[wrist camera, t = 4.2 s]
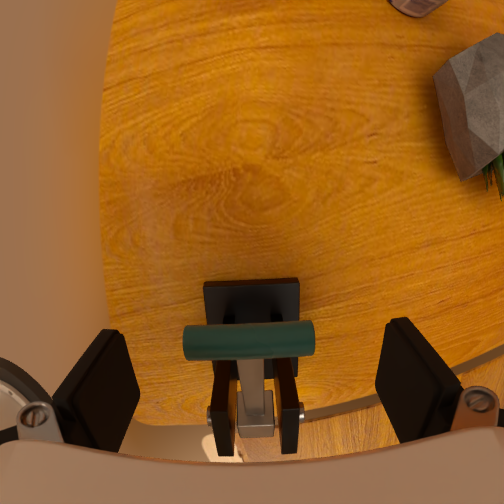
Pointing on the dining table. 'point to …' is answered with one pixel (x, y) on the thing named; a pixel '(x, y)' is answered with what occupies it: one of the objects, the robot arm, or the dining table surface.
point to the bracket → (280, 369)
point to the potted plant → (474, 109)
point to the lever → (250, 362)
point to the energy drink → (417, 6)
